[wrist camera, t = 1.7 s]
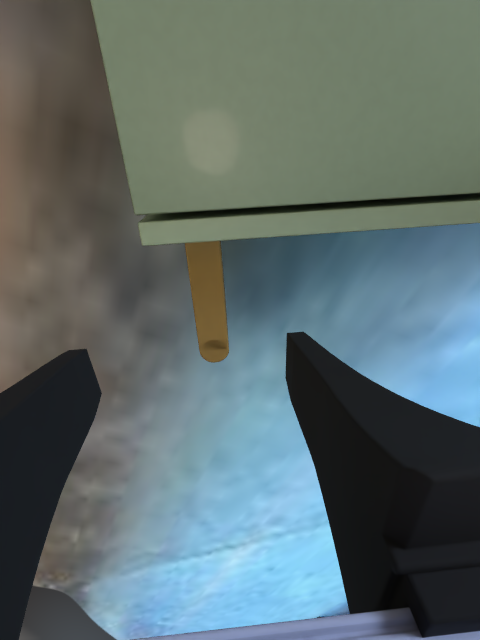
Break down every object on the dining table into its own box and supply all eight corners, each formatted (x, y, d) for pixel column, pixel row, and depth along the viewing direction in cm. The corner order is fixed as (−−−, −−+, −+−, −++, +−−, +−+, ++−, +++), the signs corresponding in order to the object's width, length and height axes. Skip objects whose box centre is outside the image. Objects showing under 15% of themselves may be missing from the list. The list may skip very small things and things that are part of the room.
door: (409, 288, 21) (509, 356, 14) (186, 305, 21) (170, 385, 14) (434, 178, 18) (582, 193, 11) (169, 195, 17) (136, 222, 10)
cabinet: (433, 173, 18) (590, 186, 11) (169, 190, 18) (134, 215, 10) (491, -80, 13) (851, -388, 6) (130, -69, 13) (8, -396, 5)
